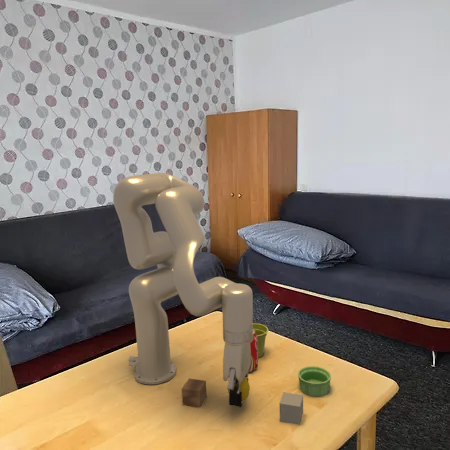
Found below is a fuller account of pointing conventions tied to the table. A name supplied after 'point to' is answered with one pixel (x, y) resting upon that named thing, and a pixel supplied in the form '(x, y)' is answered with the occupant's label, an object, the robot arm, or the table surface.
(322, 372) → the ramekin
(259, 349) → the plant pot
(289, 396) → the grey block
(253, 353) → the soda can
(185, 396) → the walnut block
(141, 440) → the table surface
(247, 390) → the lemon
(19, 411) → the table surface
